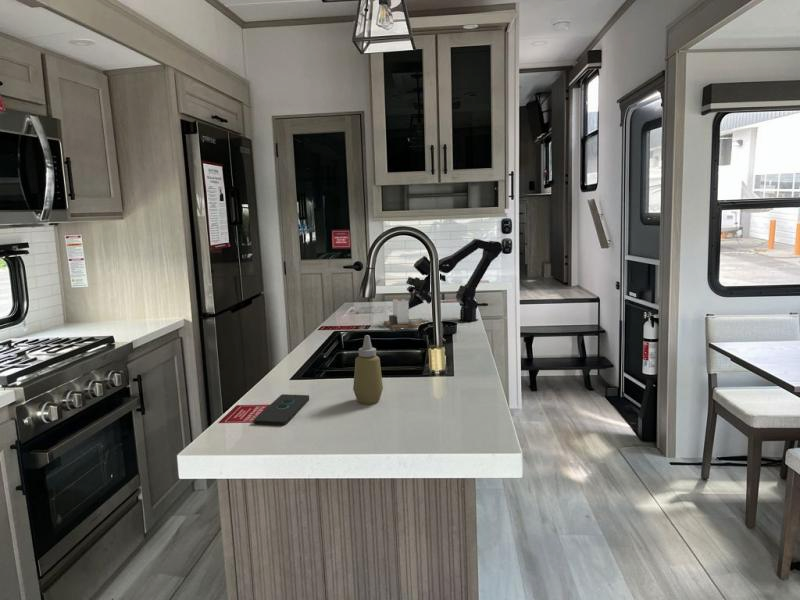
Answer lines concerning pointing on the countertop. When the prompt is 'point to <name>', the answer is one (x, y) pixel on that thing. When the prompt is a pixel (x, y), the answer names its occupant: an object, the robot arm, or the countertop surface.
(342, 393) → the countertop surface
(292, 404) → the smart home device
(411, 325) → the rail board
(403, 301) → the block
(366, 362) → the squeeze bottle
